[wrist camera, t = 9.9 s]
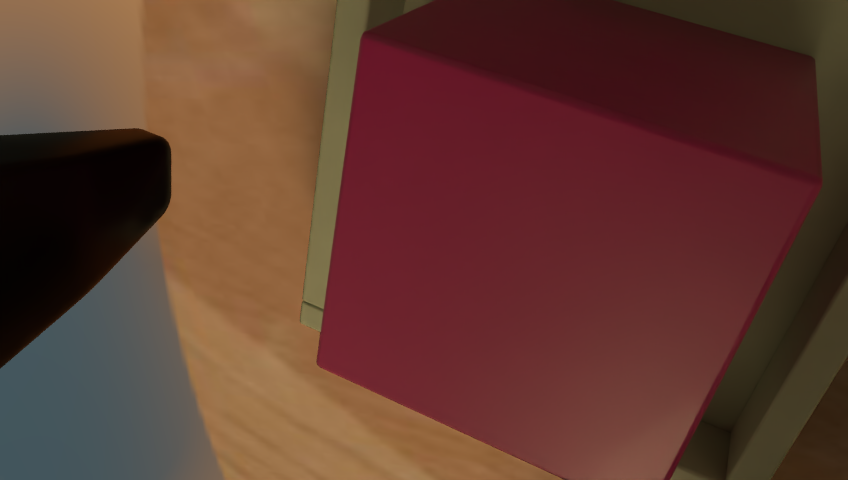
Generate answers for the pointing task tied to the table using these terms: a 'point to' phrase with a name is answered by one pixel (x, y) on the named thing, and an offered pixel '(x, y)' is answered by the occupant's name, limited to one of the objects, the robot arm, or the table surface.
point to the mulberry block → (563, 222)
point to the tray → (793, 285)
